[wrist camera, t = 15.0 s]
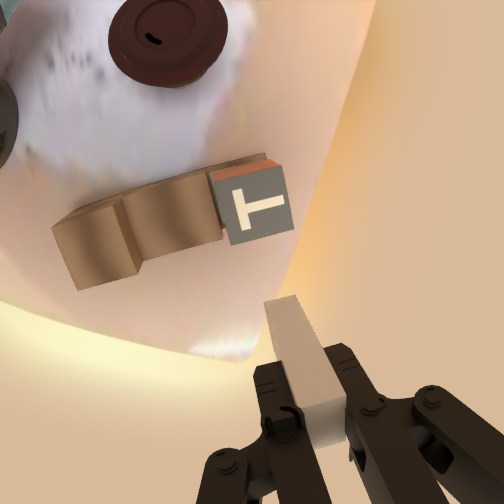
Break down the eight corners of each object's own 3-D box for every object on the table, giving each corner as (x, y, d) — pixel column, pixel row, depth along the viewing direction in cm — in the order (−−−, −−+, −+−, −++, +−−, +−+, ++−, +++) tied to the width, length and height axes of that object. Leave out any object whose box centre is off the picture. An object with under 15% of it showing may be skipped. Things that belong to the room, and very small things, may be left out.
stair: (95, 263, 40) (77, 290, 33) (75, 209, 37) (51, 227, 30) (277, 213, 42) (293, 232, 34) (264, 153, 38) (278, 159, 31)
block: (294, 229, 35) (279, 212, 41) (281, 165, 32) (268, 159, 38) (230, 245, 34) (226, 226, 41) (214, 182, 31) (212, 172, 38)
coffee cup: (206, 15, 31) (209, -41, 17) (230, 83, 35) (246, 57, 21) (128, 42, 30) (91, 1, 17) (151, 111, 34) (120, 101, 21)
